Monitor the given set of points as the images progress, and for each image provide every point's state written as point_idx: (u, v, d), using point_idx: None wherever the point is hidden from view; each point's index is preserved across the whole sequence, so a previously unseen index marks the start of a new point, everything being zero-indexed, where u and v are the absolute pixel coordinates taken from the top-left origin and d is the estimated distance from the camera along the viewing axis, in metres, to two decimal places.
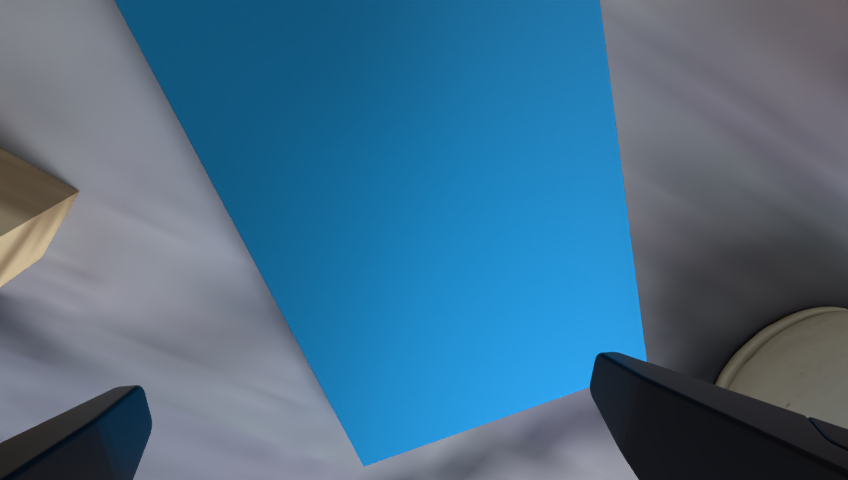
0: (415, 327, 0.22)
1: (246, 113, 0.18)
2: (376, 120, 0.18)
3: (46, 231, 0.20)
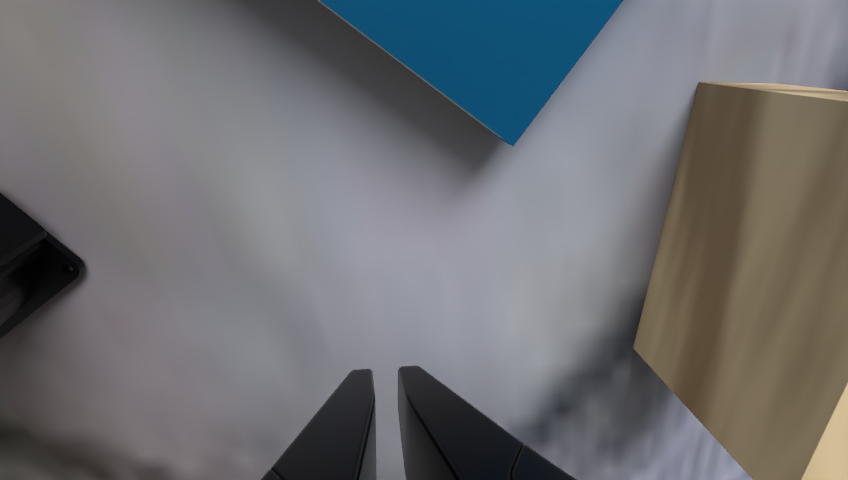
0: None
1: None
2: None
3: (756, 85, 0.20)
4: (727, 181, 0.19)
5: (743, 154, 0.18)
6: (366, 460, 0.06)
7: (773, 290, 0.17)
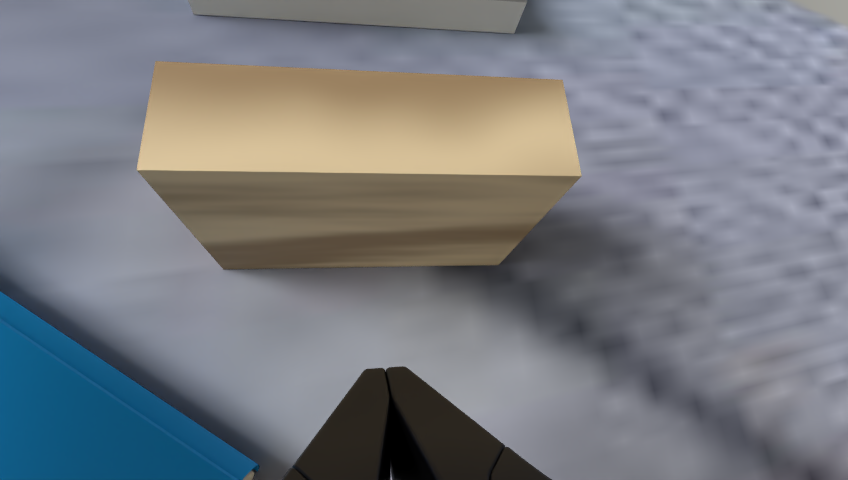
0: None
1: (56, 455, 0.17)
2: None
3: None
4: (290, 247, 0.21)
5: (261, 244, 0.20)
6: (385, 458, 0.06)
7: (362, 215, 0.18)
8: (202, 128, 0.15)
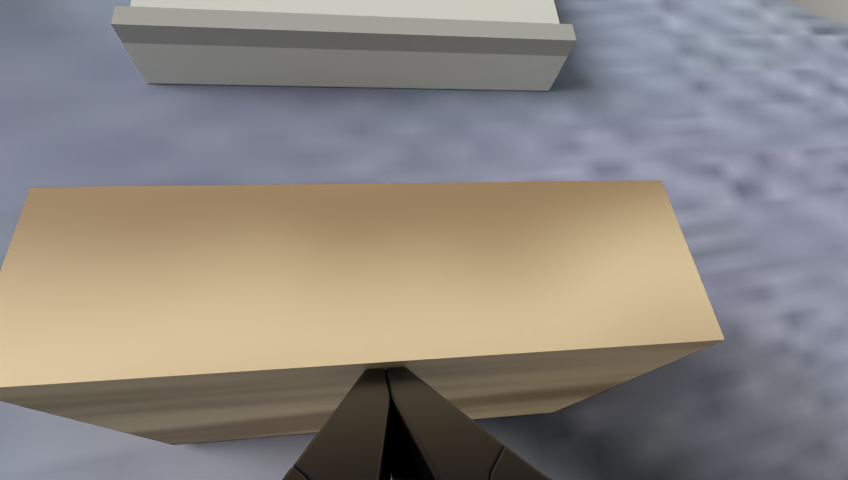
0: None
1: None
2: None
3: None
4: (262, 424, 0.14)
5: (217, 426, 0.14)
6: (385, 458, 0.06)
7: None
8: (91, 298, 0.09)
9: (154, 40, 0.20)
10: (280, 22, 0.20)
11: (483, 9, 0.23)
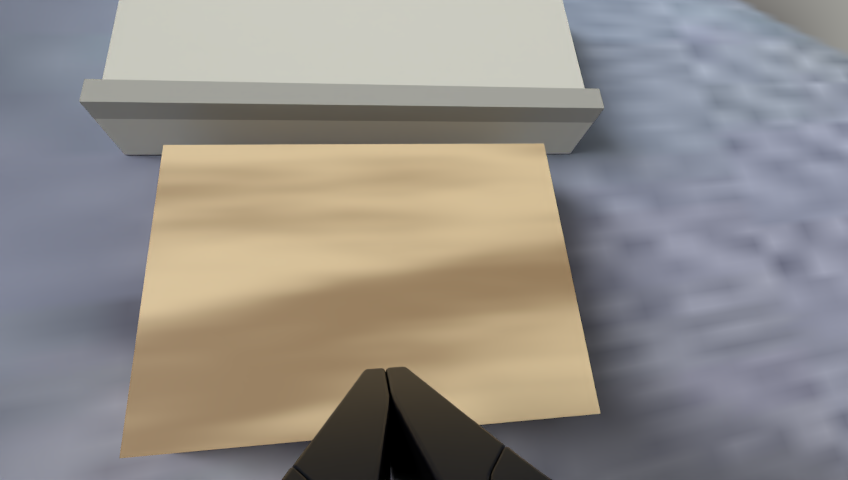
0: None
1: None
2: None
3: None
4: (261, 333, 0.14)
5: (221, 323, 0.14)
6: (385, 458, 0.06)
7: (358, 226, 0.16)
8: None
9: (130, 115, 0.18)
10: (272, 94, 0.18)
11: (498, 69, 0.21)
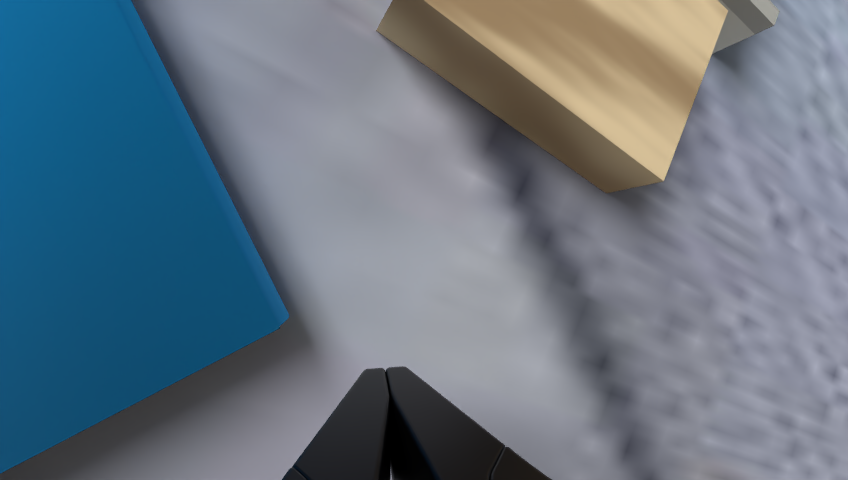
0: None
1: (113, 189, 0.14)
2: None
3: None
4: None
5: None
6: (385, 458, 0.06)
7: None
8: None
9: None
10: None
11: None
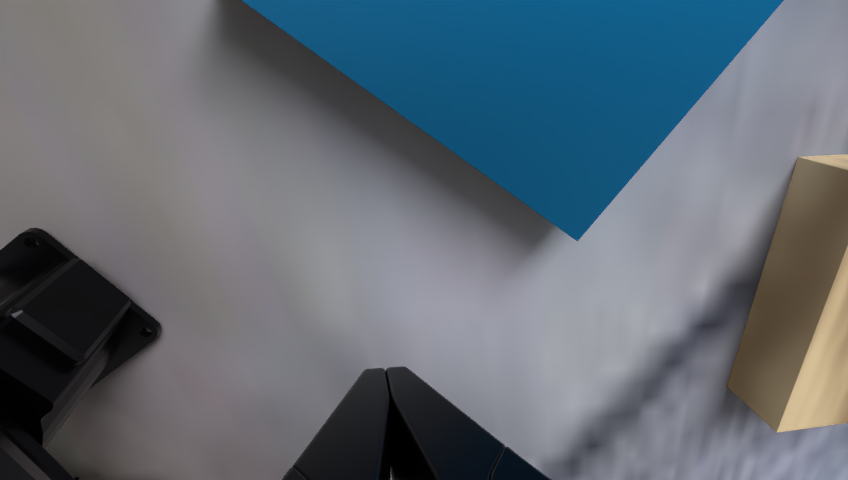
0: None
1: (641, 78, 0.17)
2: None
3: None
4: None
5: None
6: (385, 458, 0.06)
7: None
8: None
9: None
10: None
11: None
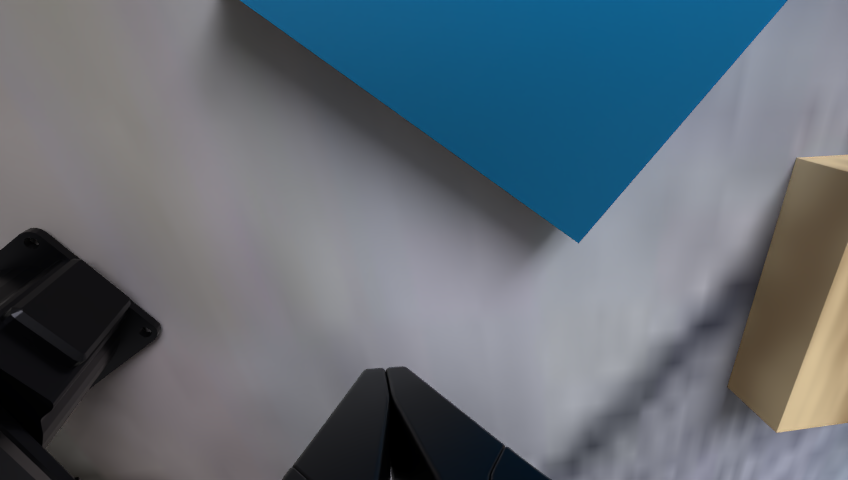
0: None
1: (643, 81, 0.17)
2: None
3: None
4: None
5: None
6: (385, 458, 0.06)
7: None
8: None
9: None
10: None
11: None
